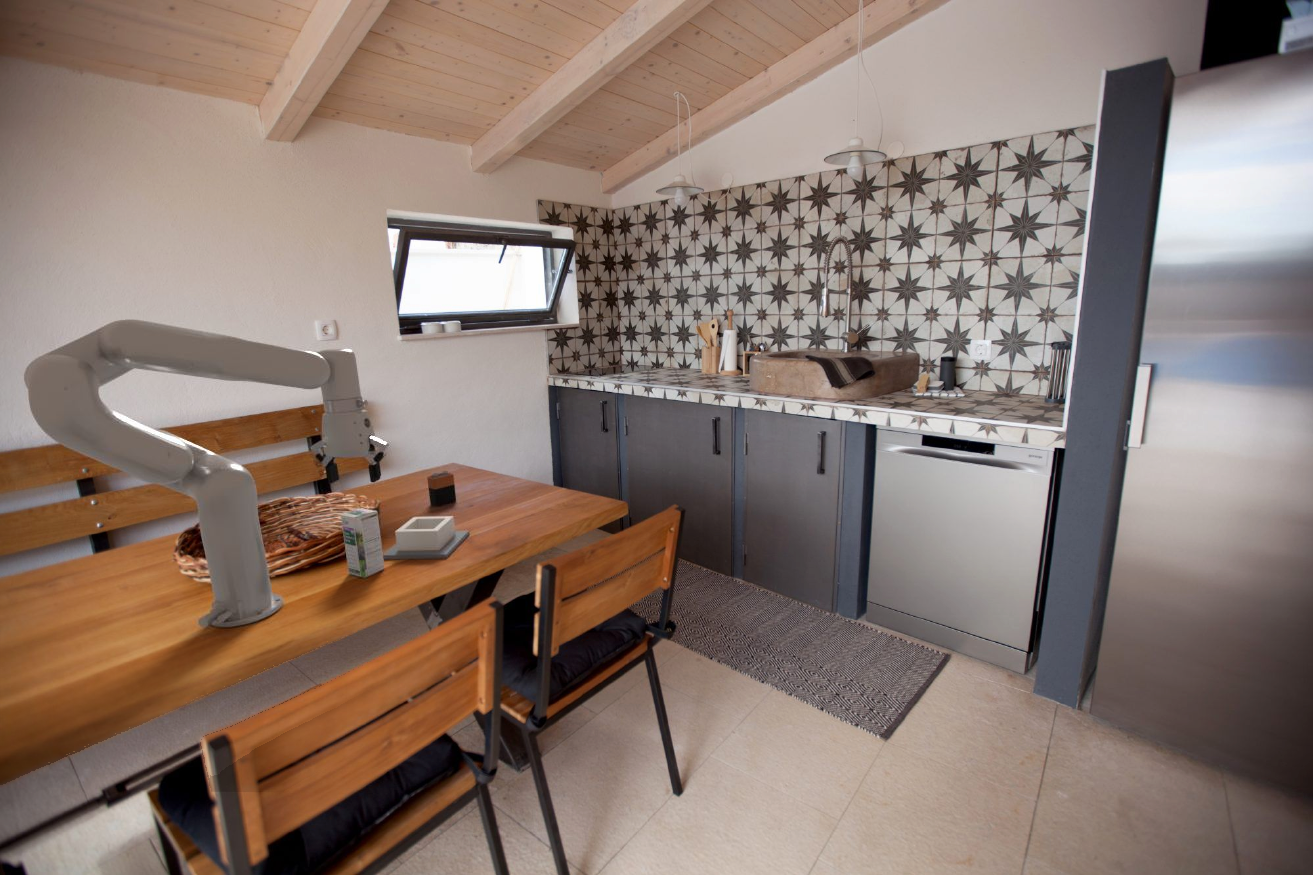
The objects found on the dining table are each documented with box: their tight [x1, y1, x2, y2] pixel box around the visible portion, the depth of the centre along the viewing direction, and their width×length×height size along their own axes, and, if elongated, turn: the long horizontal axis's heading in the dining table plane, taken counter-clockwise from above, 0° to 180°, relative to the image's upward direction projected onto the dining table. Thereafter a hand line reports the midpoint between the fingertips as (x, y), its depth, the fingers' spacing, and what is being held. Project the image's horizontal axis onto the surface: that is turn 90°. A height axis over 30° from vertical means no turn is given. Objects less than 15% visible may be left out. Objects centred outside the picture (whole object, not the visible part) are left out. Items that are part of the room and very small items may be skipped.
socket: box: [383, 515, 470, 560], centre depth 155 cm, size 16×16×6 cm
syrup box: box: [340, 507, 385, 579], centre depth 140 cm, size 6×6×14 cm
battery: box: [426, 470, 457, 508], centre depth 189 cm, size 4×7×10 cm, turn 137°
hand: (354, 481), depth 137 cm, fingers open, 9 cm apart
